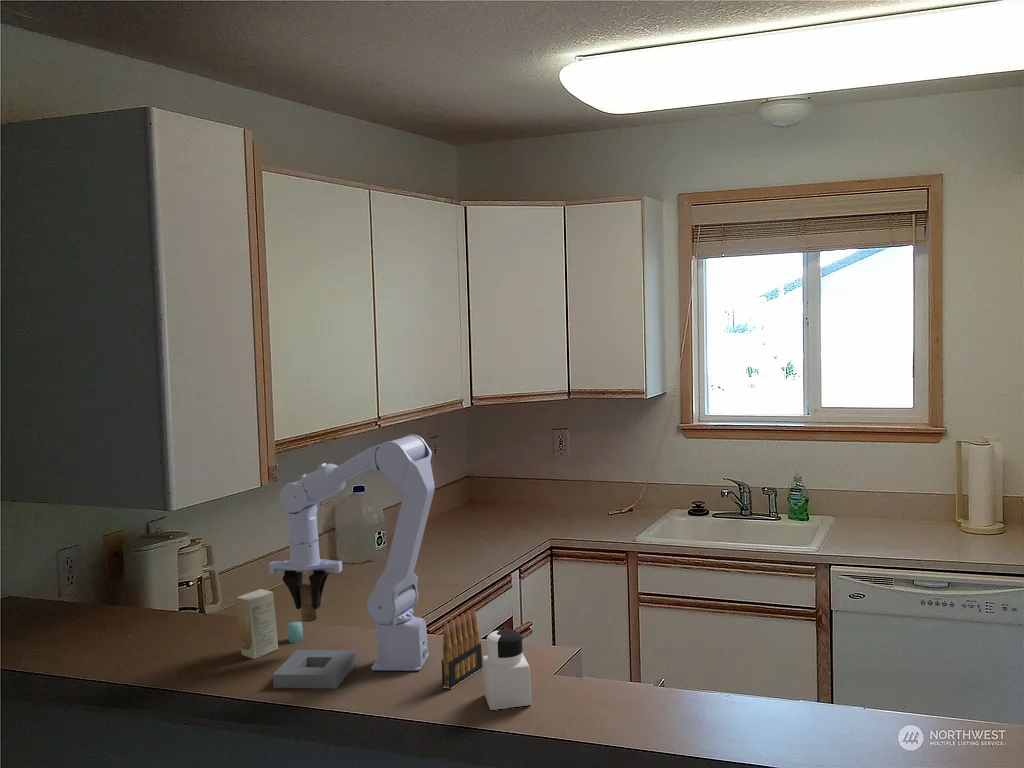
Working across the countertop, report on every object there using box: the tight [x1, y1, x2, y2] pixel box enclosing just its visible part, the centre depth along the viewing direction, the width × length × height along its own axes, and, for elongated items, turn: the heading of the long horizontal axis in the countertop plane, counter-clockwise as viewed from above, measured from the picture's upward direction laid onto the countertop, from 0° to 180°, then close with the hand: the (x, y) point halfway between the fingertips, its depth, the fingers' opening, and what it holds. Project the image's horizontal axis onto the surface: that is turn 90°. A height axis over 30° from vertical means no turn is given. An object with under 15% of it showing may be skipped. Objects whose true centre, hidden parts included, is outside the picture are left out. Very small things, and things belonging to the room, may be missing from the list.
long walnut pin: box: [299, 582, 318, 623], centre depth 190 cm, size 3×3×7 cm
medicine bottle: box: [482, 628, 532, 711], centre depth 163 cm, size 7×7×12 cm
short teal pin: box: [286, 621, 304, 644], centre depth 199 cm, size 3×3×4 cm
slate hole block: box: [272, 649, 358, 690], centre depth 179 cm, size 12×12×2 cm
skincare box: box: [236, 588, 279, 660], centre depth 192 cm, size 6×4×12 cm
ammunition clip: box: [441, 606, 483, 688], centre depth 174 cm, size 11×2×12 cm, turn 149°
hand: (308, 607), depth 190 cm, fingers closed on long walnut pin, 3 cm apart
